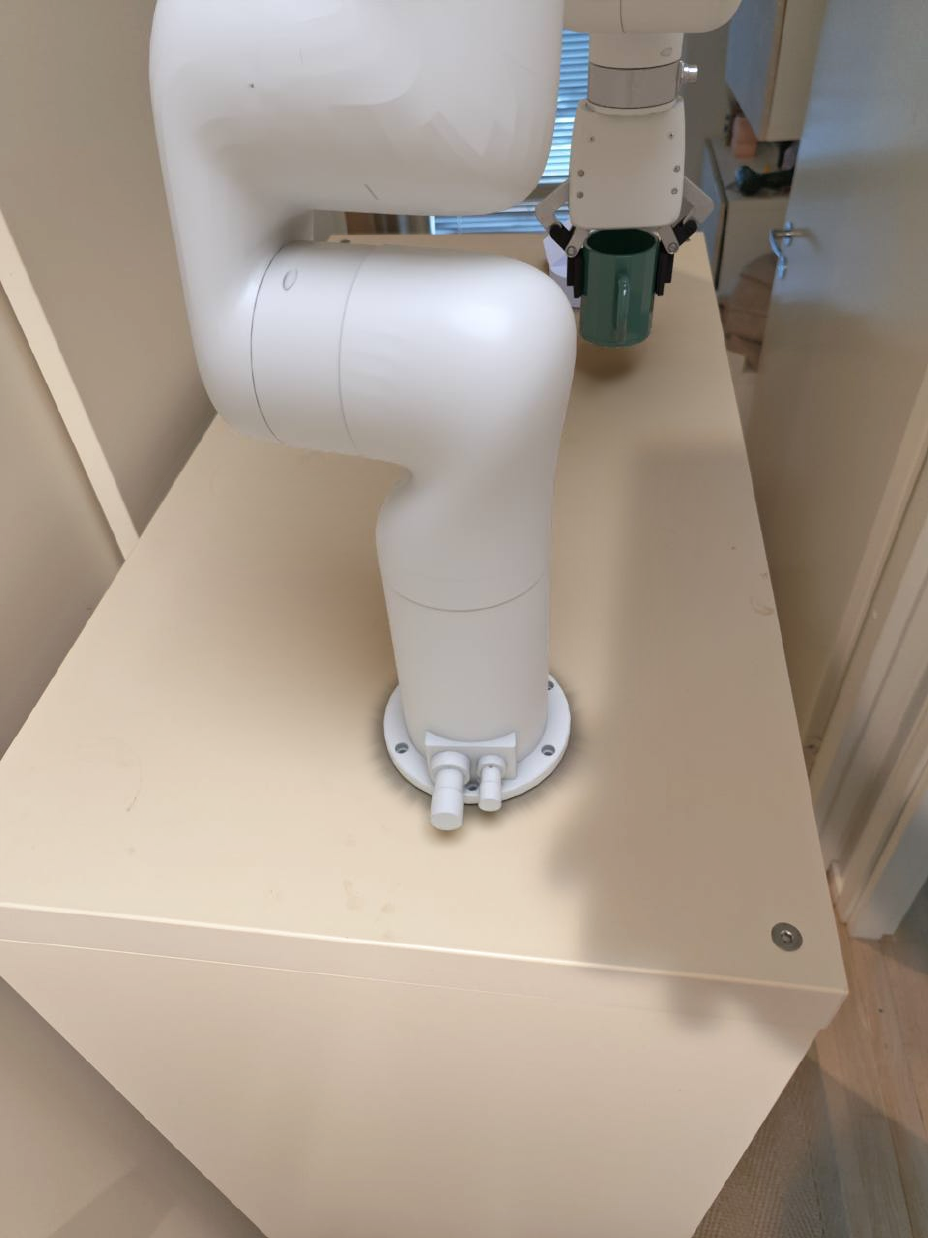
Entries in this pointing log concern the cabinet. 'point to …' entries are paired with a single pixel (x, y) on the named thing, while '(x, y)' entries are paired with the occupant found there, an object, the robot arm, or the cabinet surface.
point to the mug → (618, 286)
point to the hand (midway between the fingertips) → (617, 289)
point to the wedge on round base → (560, 266)
